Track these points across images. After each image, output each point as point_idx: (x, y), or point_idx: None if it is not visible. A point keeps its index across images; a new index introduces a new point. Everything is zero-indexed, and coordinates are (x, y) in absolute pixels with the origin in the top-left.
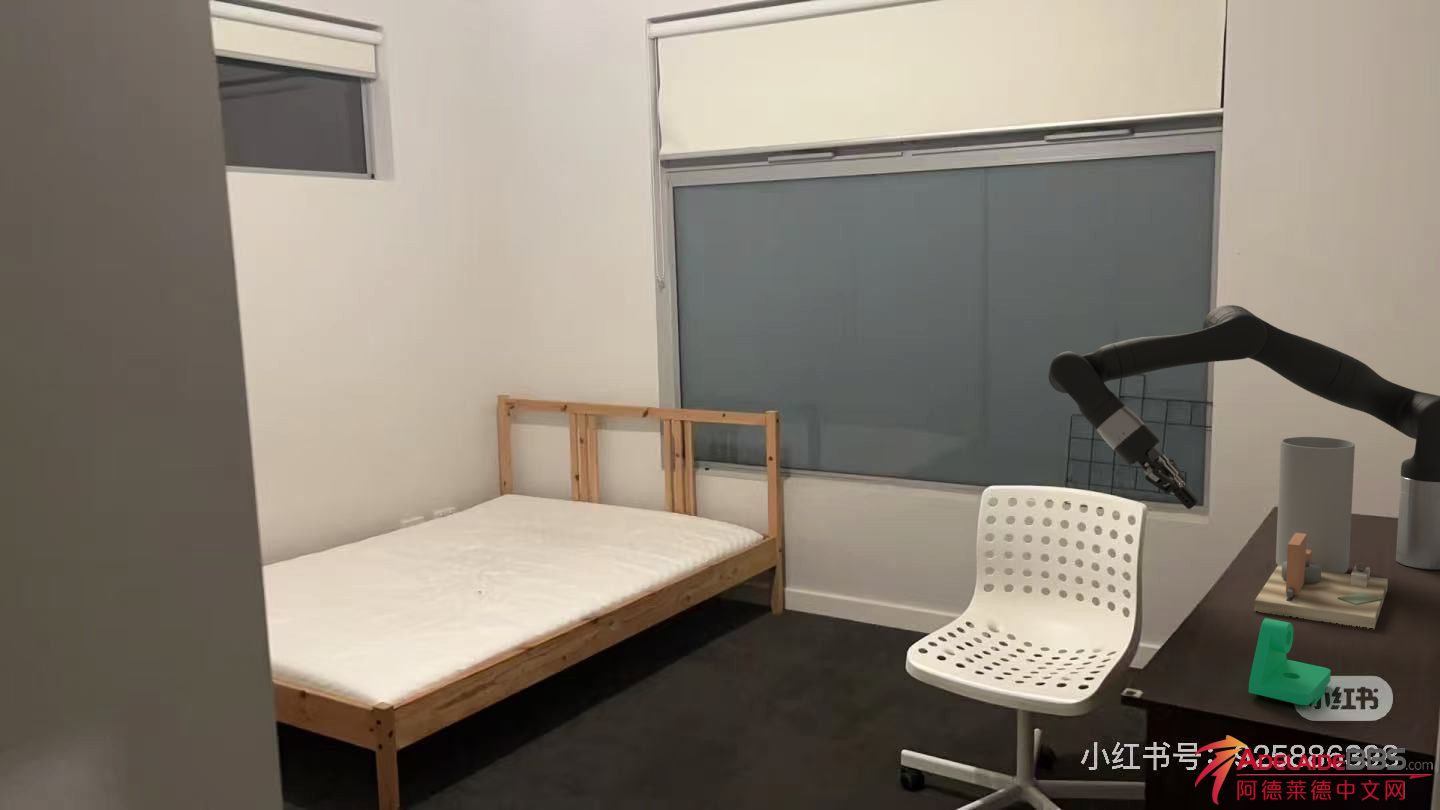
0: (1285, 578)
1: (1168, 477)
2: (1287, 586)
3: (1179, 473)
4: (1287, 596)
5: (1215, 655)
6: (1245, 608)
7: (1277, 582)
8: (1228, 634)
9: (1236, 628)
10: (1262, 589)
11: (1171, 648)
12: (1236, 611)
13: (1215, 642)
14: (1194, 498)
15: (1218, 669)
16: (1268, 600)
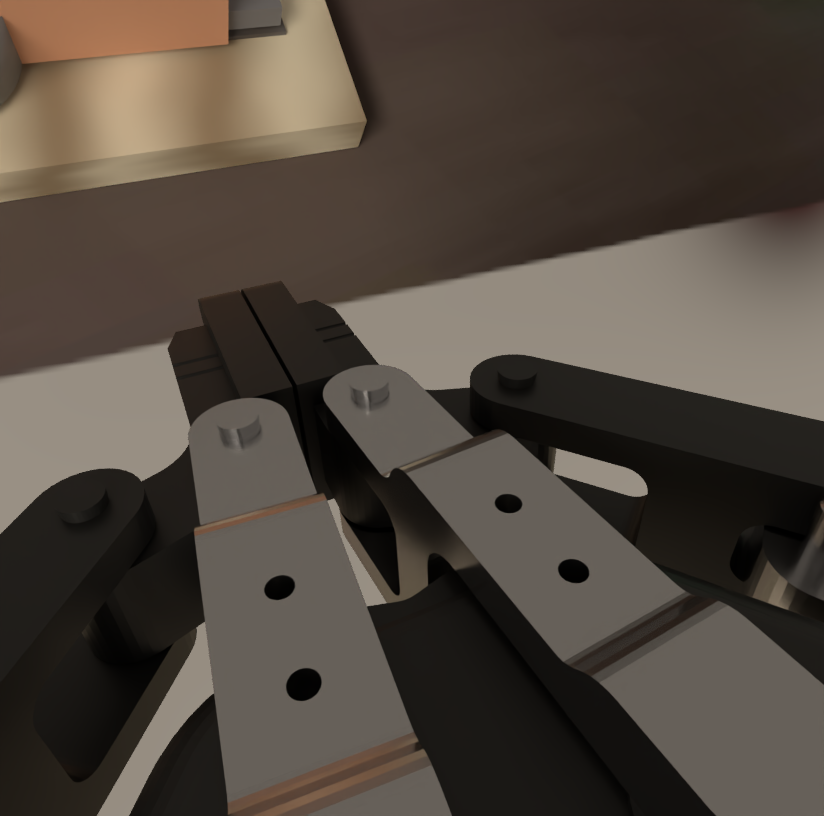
0: (7, 94)
1: (651, 432)
2: (225, 15)
3: (20, 603)
4: (278, 21)
5: (754, 107)
6: (350, 180)
7: (55, 125)
8: (608, 134)
9: (549, 134)
10: (210, 141)
11: (800, 205)
12: (403, 191)
13: (684, 138)
14: (269, 298)
15: (813, 73)
16: (332, 83)
